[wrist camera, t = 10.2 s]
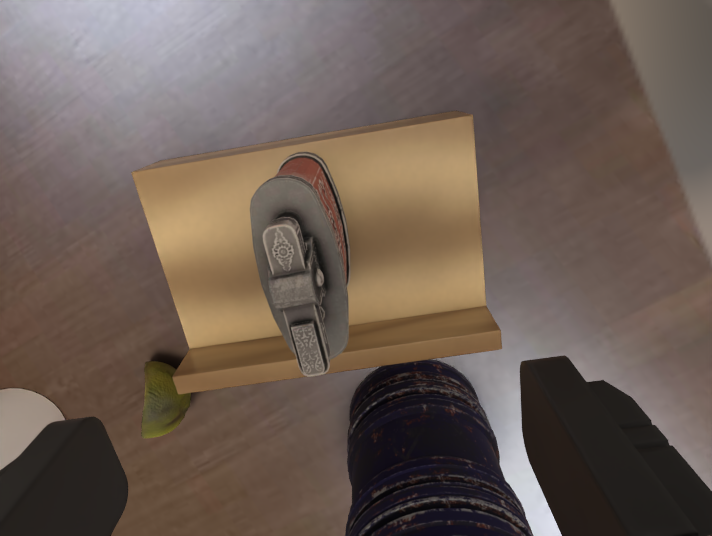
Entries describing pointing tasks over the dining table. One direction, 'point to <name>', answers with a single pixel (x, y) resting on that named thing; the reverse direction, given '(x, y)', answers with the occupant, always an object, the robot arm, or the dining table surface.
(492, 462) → the dark blue cylinder
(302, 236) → the lighter
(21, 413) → the candle
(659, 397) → the dining table surface
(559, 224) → the dining table surface
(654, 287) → the dining table surface
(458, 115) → the shelf
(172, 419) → the lime
